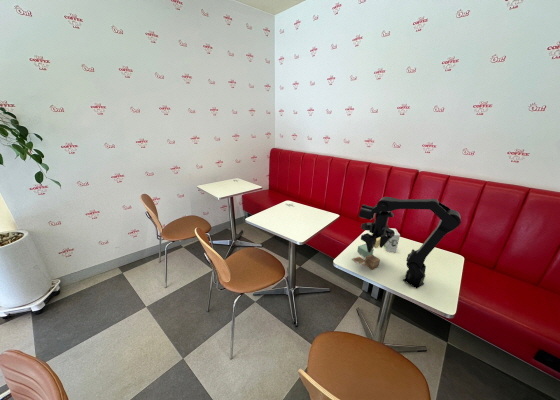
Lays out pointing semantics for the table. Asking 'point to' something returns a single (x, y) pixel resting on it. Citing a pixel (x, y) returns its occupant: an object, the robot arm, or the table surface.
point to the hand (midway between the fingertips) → (374, 249)
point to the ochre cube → (377, 242)
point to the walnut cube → (372, 262)
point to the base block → (364, 250)
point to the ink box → (392, 242)
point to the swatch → (359, 260)
